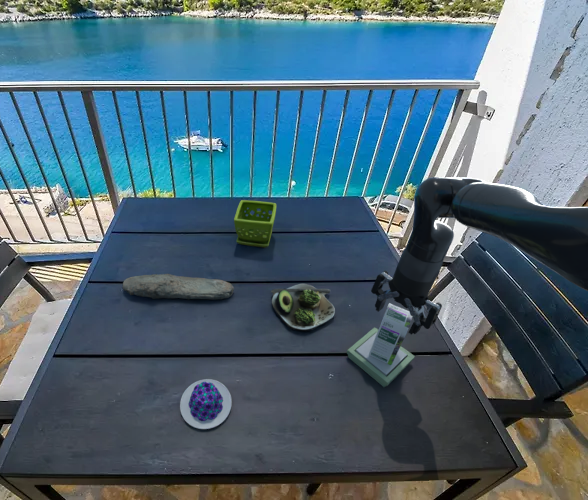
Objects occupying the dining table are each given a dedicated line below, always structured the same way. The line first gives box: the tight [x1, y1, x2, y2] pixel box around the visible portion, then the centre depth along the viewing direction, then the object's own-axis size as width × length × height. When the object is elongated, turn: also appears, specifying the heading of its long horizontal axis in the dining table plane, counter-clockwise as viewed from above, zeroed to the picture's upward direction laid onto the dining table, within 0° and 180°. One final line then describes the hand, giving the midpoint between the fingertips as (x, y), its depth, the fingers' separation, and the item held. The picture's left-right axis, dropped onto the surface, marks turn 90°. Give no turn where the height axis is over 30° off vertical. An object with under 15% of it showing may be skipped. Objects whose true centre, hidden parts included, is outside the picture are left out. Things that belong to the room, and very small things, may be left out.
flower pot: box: [233, 199, 277, 249], centre depth 128 cm, size 14×14×13 cm
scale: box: [346, 326, 416, 388], centre depth 90 cm, size 12×12×3 cm
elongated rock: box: [121, 273, 235, 301], centre depth 109 cm, size 35×5×10 cm
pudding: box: [179, 378, 233, 430], centre depth 80 cm, size 12×12×5 cm
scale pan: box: [355, 332, 407, 377], centre depth 89 cm, size 9×9×2 cm
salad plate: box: [269, 283, 336, 332], centre depth 104 cm, size 19×18×5 cm
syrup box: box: [369, 302, 413, 365], centre depth 84 cm, size 6×6×14 cm
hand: (395, 320), depth 81 cm, fingers open, 8 cm apart
